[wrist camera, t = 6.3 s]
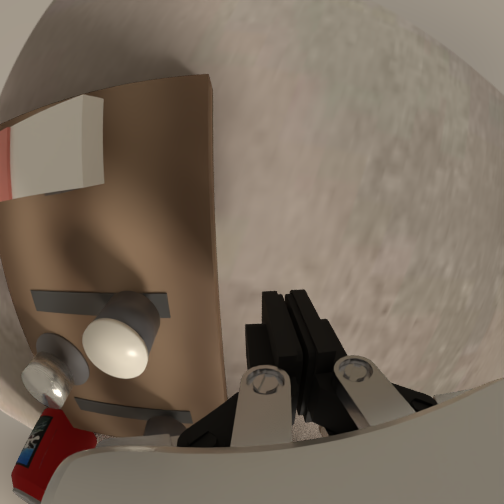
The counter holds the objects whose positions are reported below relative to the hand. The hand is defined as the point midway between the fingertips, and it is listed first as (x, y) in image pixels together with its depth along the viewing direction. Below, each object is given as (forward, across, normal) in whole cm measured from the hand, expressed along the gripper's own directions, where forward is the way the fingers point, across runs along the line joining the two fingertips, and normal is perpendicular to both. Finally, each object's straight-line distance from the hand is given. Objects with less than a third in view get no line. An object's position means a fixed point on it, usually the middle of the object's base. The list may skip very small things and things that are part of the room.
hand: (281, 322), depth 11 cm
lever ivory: (+3, +7, +1) cm, 7 cm away
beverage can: (+6, +20, +18) cm, 28 cm away
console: (+6, +10, +2) cm, 12 cm away
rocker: (+1, +10, -7) cm, 12 cm away
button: (+2, +14, +5) cm, 15 cm away
